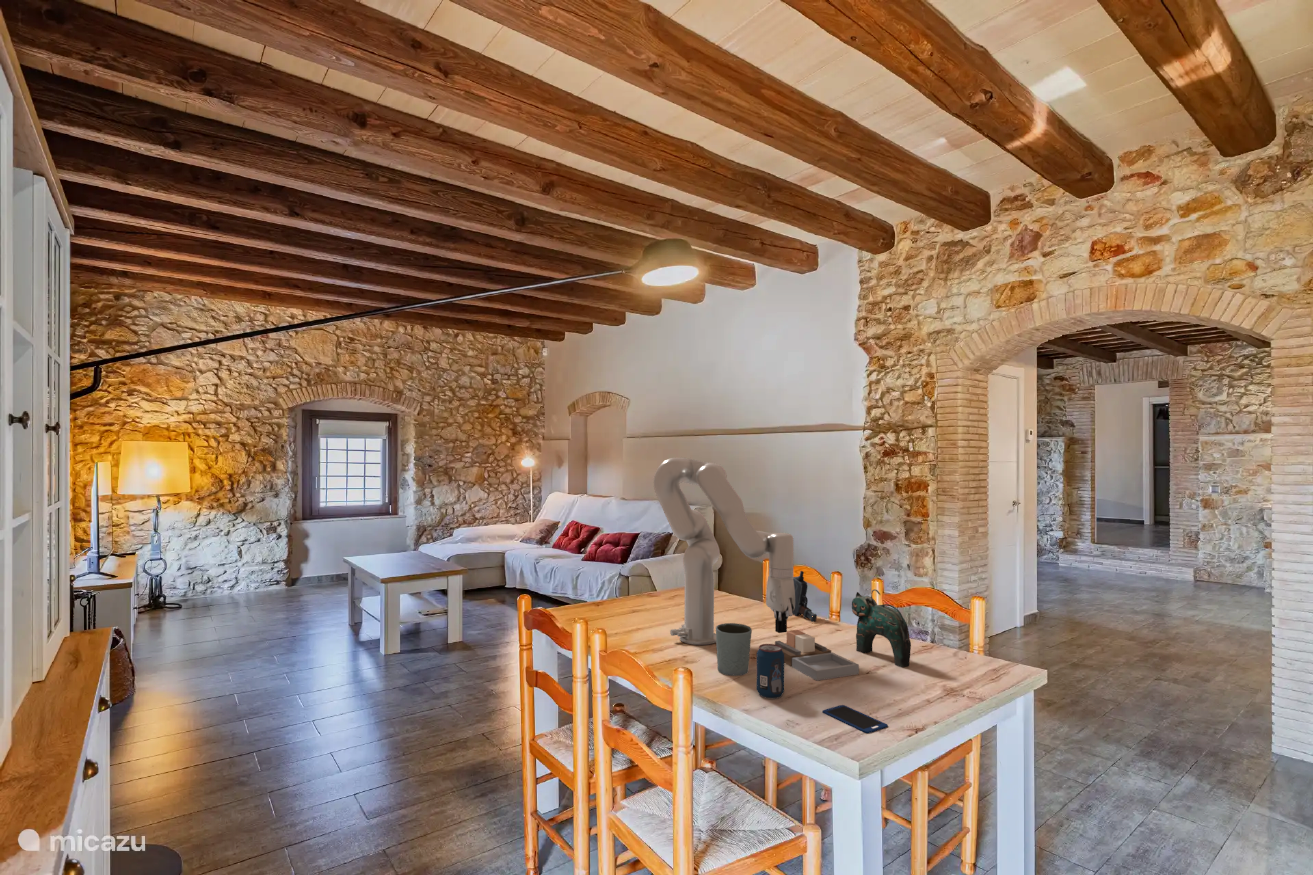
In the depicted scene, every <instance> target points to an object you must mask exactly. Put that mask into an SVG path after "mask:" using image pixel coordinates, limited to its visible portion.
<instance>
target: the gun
mask: <svg viewBox="0 0 1313 875" xmlns="http://www.w3.org/2000/svg"><path fill="white" fill-rule="evenodd" d="M793 582H794V589H795V609H794V611H792V615H793V616H795V617H796V616H797V617H798V616H803V618H804V619H809V620H810V622H812V623H814V622H816V621H817V618H818V616H817V614H816V613H814V612H812V611H813V610H812V609H811V608H809V607H808V598H807V597H808V596H807V593H808V583H807V581H805V577H804V571H803V570H800V571H799V576H793ZM812 616H813V617H812Z"/></svg>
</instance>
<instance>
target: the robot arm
mask: <svg viewBox="0 0 1313 875" xmlns="http://www.w3.org/2000/svg"><path fill="white" fill-rule="evenodd" d="M727 476H728V475H727V472H726V470H725V468H724V467H723V466H722V465H721V464H718V463H715V462H709V461H708V462H707V461H702V460H698V459H693V458H687V457H682V456H681V457H670V458H668V459H665V460H664V461H663V462H661V464H660V465H659V466H658V467H657V469H656V471H655V473H654V475H653V489H654V493H655V496H656V498H657V500H658V502H659V504H660V506H661V508H662V510H663V513H664V515H665V517H666V519H667V522H668V523H669V525H670V528H671V531H672V533H673V534H674V536H675V537H676V538H677V539H678V540H680V541H685V542H686V543H687V545H688V546H687V548H685V551H684V553H683V556H682V564H683V565H682V567H683V576H684V622H683V623H684V624H681V627H679V628H677V629H676V628H674V629H673V628H672V629H670V630H669V632H670V636H677V637H678V638H679V640H680V641H681V642H682V643H685V644H688V645H695V646H707V645H713V644H715V643H716V632H715V579H714V569H713V567H714V565H715V564H716V563H717V562H718V560H719V559H720V555H721V554H720V553H721V551H720V547H719V544H718V542H717V540H716V538H715V536H714V533H713V532H712V529H711V527H710V526H709V525H710V524H708V521H707V519H706V518H705V516H704V515H703V514H702V512H700V511H699V510H696V509H692V508H691V506H690V504H689V502H688V500H687V497H686V495H685V494H684V492H683V490H682V489H681V487H680V486H681V485H680V484H681V483H684V484H689V485H695V486H699V488H700V489H701V491H702V493H704V495H705V496H706V498H707V499H708V501H709V502H710V503H711V505H712V506H713V508H715V510H716V512H717V513H718V514H719V516H720V519H721V522H723V524H724V527H725V528H726V530H727V533H728V534H729V535H730V538H731V539H732V540H733V542H734V543H735V544H736V545H737V547H738V548H739V549H740V551H741V553H743V554H744V555H745V556H746V557H748V558H749V559H758V558H761V557H762V556H763V555H766V554H767V555H768V577H767V582H766V590H765V591H766V592H765V605H766V606H767V607H768V609H769V608H770V610H771V611H772V612H773V614H774V616H773V617H774V619H775V620H774V621H775V622H774V623H775V627H774V629H775V630H774V631H775V632H776V633H778V634H783V633H787V631H788V620H789V617H793V614H792V611H794V609H795V589H794V582H793V577H794V536H793V535H792V534H791V533H788V532H768V531H763V530H756V528H755V527H754V526H753V524H752V523H751V521H750V520H749V519H748V516H747V514H746V511H745V508H744V504H743V499H742V498H741V497H740V495H739V494H738V493H737V491H736V490H735V489H734V488H733V486H732V485H731V484H730V482H729V480H728V479H727Z"/></svg>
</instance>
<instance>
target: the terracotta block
mask: <svg viewBox="0 0 1313 875" xmlns="http://www.w3.org/2000/svg"><path fill="white" fill-rule="evenodd" d="M802 634H807V633H806V632H804V631H801V630H800V629H794V630H787V632H786V643H787V645H789V646H791V647H793V648H795V635H802Z"/></svg>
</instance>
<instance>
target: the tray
mask: <svg viewBox="0 0 1313 875" xmlns="http://www.w3.org/2000/svg"><path fill="white" fill-rule="evenodd" d="M791 668H792V669H795V670H796V671H798V672H800V673H802V674H803V675H804V676H805V675H806V676H807V677H809V678H811V679H812V680H815V681H823V680H830V679H835V678H843V677H849V676H854V675H855V676H856V675H859V673H860V670H859V669H860V665H859V663H856V662H854V661H852V660H850V659H849V658H848V659H847V658H846V657H843V656H841V655H839V654H837V653H834V652H833V651H831V653H824V654H817V655H810V656H803V657H796V658H792V667H791Z"/></svg>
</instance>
